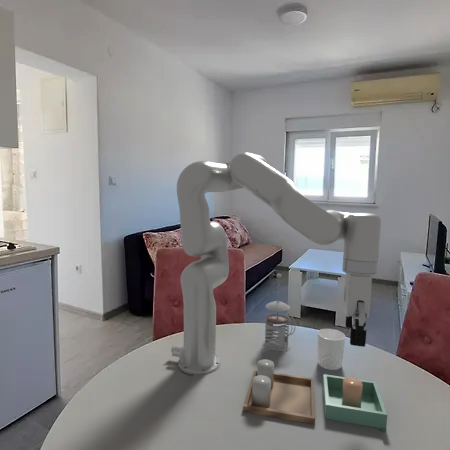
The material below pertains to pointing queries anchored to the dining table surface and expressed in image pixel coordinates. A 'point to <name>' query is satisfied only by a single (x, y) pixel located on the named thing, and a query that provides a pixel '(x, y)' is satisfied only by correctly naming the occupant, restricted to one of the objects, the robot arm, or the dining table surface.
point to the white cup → (330, 348)
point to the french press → (281, 340)
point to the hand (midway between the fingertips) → (354, 336)
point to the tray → (286, 399)
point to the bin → (366, 415)
